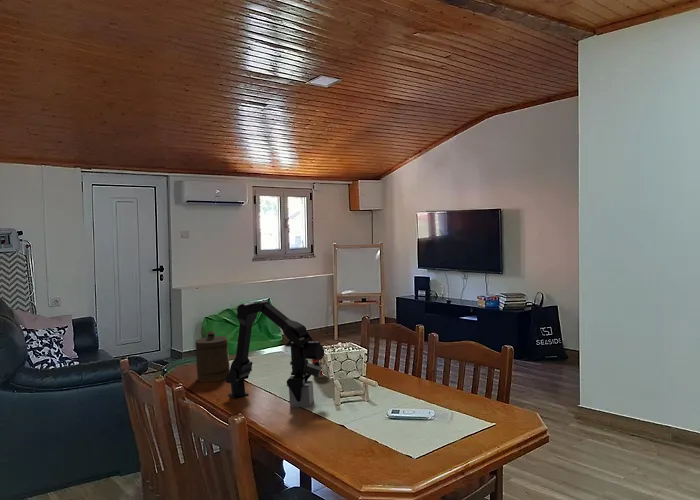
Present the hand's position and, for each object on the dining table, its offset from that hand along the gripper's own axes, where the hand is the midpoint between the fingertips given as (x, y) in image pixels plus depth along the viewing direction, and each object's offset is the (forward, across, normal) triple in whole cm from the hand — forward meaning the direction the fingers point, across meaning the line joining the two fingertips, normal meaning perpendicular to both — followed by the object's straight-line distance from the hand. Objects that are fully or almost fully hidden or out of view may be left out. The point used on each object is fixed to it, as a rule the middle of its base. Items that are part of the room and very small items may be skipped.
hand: (301, 397), depth 229 cm
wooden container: (+3, +41, +51) cm, 65 cm away
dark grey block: (+2, 0, 0) cm, 3 cm away
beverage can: (+3, +40, 0) cm, 40 cm away
